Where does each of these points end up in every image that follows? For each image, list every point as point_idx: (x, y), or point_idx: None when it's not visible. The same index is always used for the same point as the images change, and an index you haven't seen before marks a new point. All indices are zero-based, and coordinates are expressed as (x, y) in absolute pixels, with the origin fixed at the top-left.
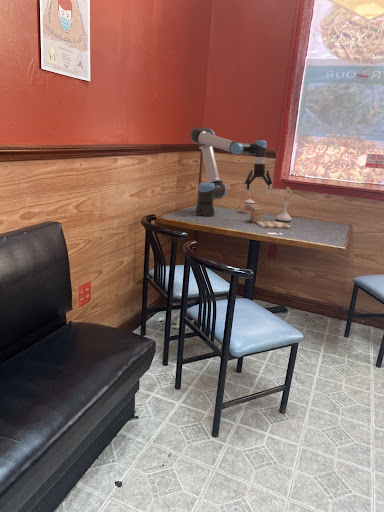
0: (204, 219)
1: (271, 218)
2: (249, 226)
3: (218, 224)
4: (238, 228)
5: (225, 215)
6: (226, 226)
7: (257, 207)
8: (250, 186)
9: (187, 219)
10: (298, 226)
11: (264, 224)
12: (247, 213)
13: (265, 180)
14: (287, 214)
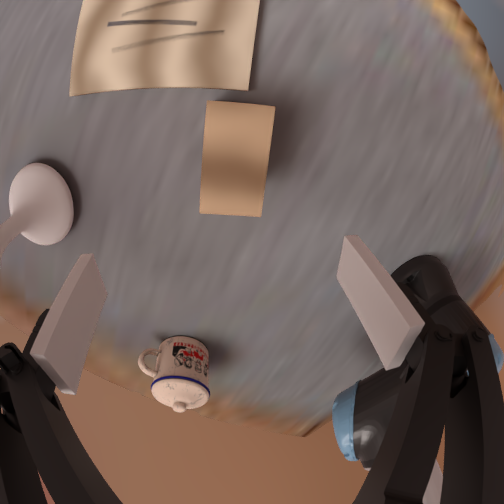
0: (460, 200)
1: (93, 250)
2: (329, 23)
3: (455, 98)
4: (402, 6)
5: (332, 292)
6: (439, 54)
7: (213, 188)
8: (400, 308)
9: (498, 201)
10: (23, 70)
11: (234, 8)
12: (194, 339)
13: (64, 448)
14: (14, 201)
